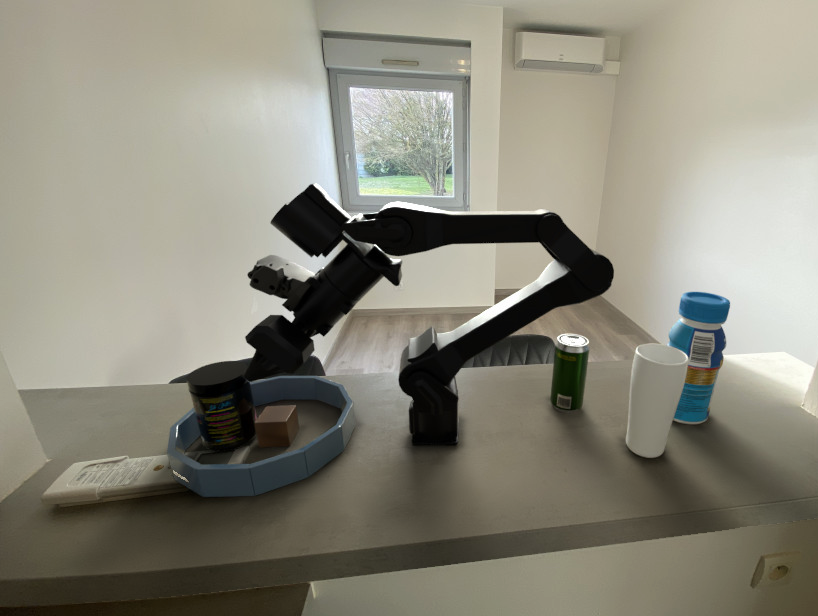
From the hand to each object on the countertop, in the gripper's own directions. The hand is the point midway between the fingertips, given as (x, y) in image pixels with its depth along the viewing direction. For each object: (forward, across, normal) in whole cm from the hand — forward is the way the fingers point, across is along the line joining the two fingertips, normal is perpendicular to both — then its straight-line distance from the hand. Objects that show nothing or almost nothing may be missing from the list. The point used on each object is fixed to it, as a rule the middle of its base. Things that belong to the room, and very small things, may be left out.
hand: (265, 361), depth 53 cm
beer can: (-22, -8, +39) cm, 45 cm away
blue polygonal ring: (+9, 0, +8) cm, 12 cm away
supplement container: (+13, 0, +4) cm, 14 cm away
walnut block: (+8, 0, +9) cm, 12 cm away
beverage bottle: (-35, -6, +52) cm, 64 cm away
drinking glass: (-28, +3, +45) cm, 54 cm away
